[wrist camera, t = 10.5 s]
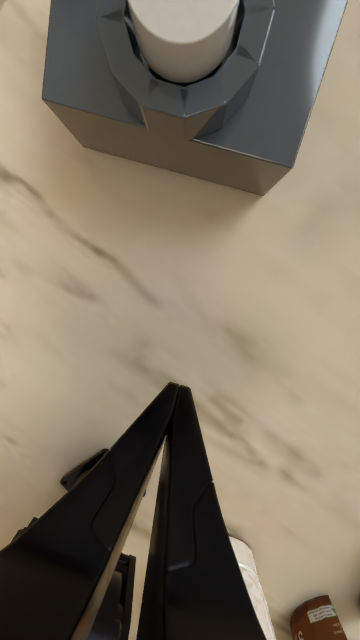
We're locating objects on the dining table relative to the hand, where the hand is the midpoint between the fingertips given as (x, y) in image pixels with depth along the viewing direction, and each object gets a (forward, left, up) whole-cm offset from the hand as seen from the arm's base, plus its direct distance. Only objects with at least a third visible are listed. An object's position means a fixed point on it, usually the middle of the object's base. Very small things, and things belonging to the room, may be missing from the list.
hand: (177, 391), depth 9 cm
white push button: (+9, +12, -5) cm, 16 cm away
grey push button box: (+10, +13, -11) cm, 20 cm away
